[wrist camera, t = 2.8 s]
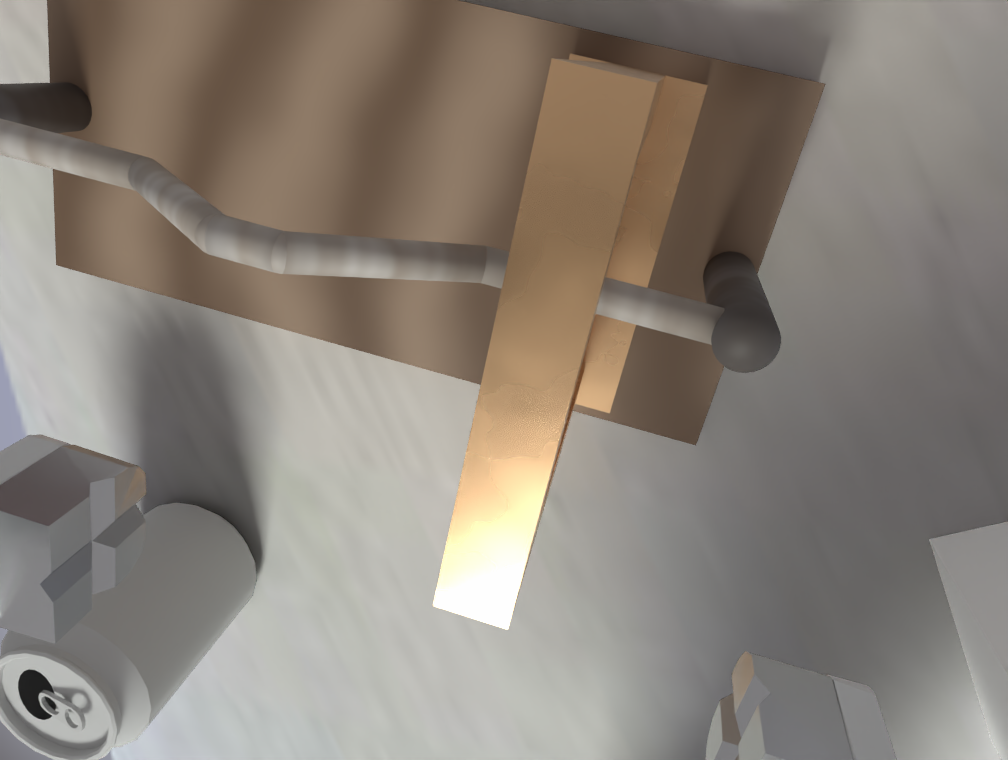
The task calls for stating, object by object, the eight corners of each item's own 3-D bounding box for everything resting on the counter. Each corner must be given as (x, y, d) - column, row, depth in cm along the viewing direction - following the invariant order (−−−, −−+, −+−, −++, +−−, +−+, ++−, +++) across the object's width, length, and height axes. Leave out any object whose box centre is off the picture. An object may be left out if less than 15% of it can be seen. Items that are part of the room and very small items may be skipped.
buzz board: (818, 83, 29) (922, 94, 17) (694, 430, 35) (705, 623, 23) (70, -88, 32) (-298, -182, 20) (78, 258, 38) (-200, 346, 26)
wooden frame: (706, 84, 28) (737, 101, 14) (611, 402, 33) (564, 647, 19) (573, 53, 29) (474, 40, 14) (501, 371, 34) (377, 588, 20)
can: (143, 479, 42) (-41, 620, 32) (268, 515, 42) (124, 673, 31) (144, 585, 45) (-24, 748, 35) (261, 621, 45) (127, 800, 34)
